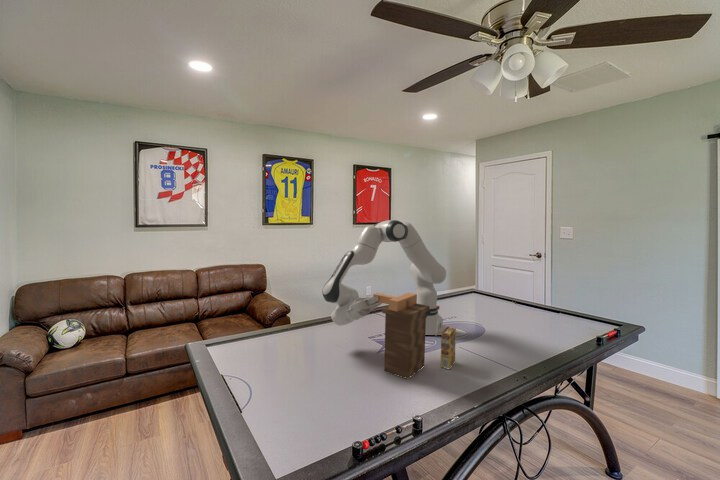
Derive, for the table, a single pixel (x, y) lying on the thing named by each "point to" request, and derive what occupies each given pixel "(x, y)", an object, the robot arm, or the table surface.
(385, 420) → the table surface
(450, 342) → the candy box
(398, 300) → the t bar
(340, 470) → the table surface
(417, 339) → the stand
